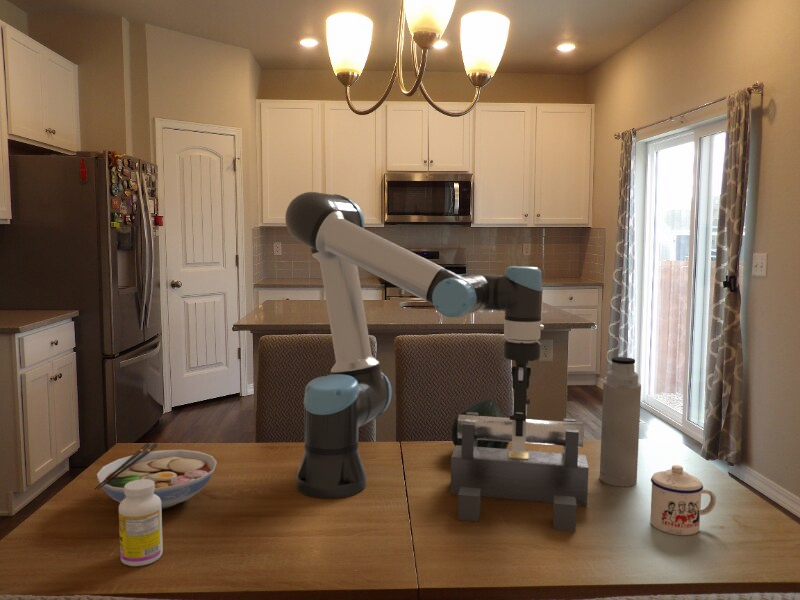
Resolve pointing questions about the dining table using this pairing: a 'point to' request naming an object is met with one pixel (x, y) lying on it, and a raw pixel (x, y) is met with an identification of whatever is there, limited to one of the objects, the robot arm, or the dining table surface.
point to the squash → (483, 409)
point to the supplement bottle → (140, 524)
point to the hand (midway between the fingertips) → (519, 441)
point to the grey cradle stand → (520, 470)
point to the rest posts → (561, 508)
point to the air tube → (535, 430)
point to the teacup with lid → (678, 501)
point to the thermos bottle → (620, 424)
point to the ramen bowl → (159, 473)
